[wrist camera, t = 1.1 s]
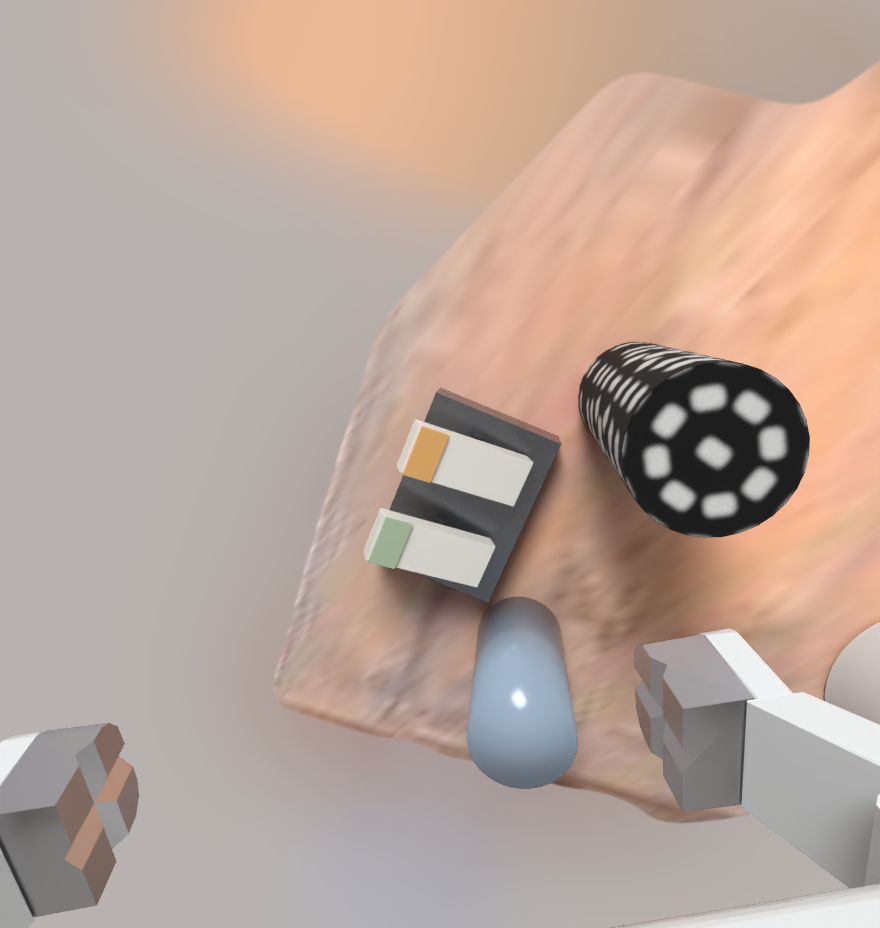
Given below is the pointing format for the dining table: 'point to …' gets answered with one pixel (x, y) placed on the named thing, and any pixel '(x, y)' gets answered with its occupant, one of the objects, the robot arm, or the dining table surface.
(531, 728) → the blue cylinder
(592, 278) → the dining table surface
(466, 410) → the panel
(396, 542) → the paddle
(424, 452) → the paddle
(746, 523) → the white-spotted black cylinder
